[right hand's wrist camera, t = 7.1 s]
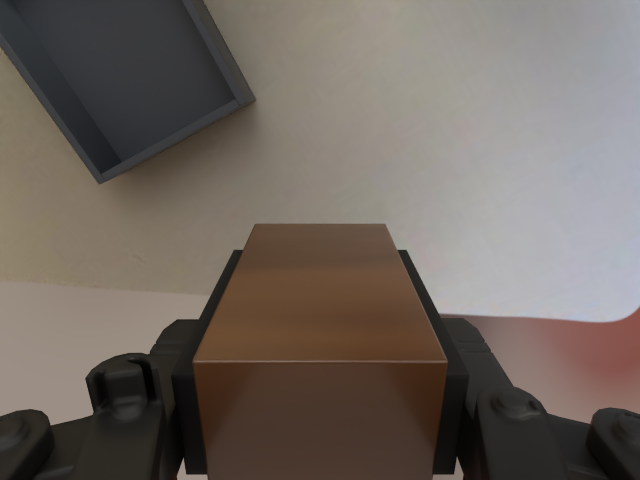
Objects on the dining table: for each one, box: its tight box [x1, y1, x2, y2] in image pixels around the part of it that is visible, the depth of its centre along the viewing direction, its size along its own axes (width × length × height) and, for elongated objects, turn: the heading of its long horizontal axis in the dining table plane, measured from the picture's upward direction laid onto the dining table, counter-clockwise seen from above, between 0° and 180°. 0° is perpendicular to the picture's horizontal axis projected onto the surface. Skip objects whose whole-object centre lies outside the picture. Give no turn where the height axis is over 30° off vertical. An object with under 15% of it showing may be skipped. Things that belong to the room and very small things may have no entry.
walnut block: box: [192, 224, 448, 480], centre depth 12 cm, size 4×4×8 cm
